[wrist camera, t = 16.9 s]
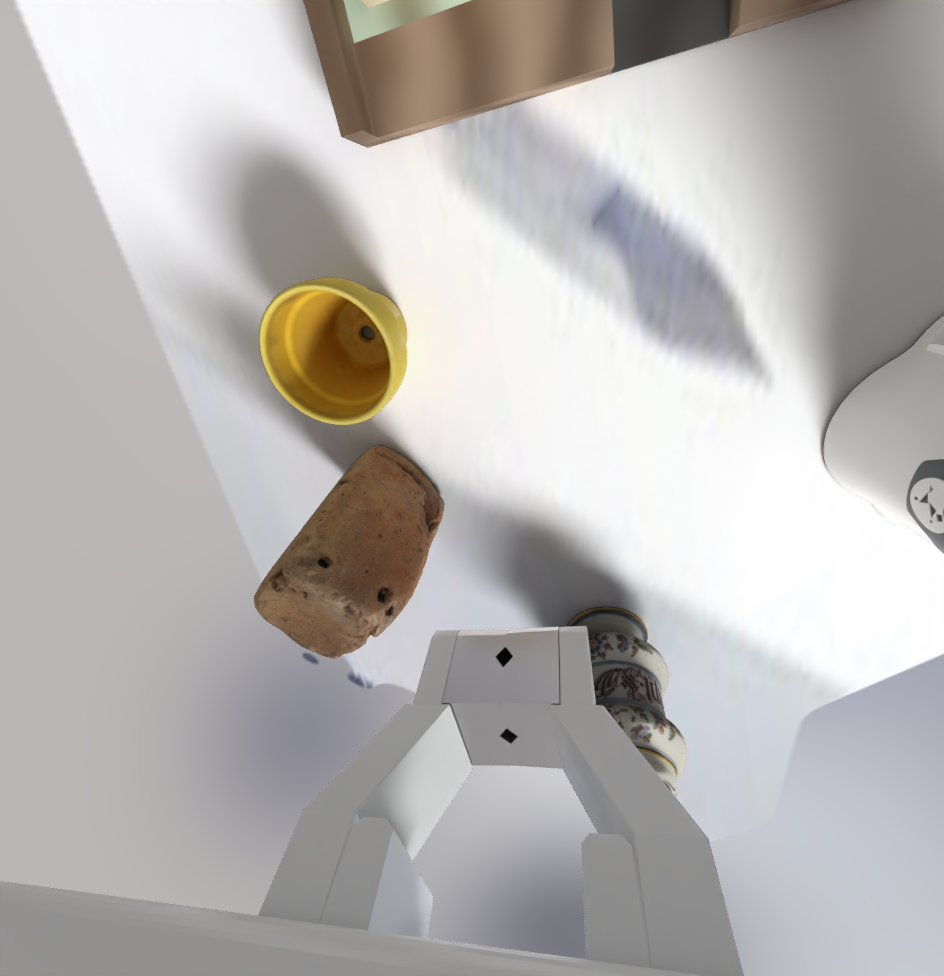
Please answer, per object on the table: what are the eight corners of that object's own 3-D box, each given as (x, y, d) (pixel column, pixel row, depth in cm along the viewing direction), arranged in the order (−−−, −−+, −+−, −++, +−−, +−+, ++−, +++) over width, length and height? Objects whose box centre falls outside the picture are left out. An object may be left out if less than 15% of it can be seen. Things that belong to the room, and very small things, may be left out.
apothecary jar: (574, 674, 60) (583, 830, 44) (542, 611, 55) (539, 762, 40) (668, 658, 56) (713, 824, 40) (642, 589, 51) (682, 747, 36)
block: (342, 475, 49) (232, 610, 32) (379, 430, 45) (278, 555, 28) (419, 534, 52) (355, 688, 35) (460, 496, 48) (411, 646, 31)
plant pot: (372, 407, 44) (331, 450, 36) (294, 320, 41) (229, 345, 33) (451, 343, 40) (425, 375, 32) (371, 239, 37) (318, 244, 28)
